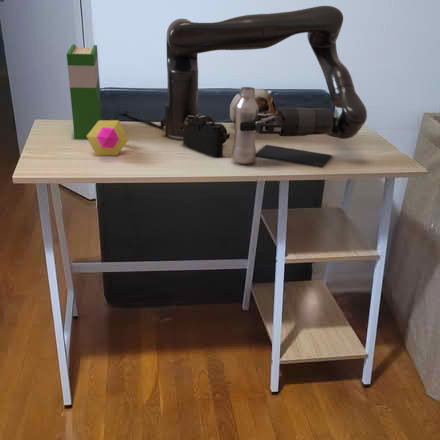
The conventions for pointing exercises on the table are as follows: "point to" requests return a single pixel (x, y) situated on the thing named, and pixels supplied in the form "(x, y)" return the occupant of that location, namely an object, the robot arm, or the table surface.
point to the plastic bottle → (245, 140)
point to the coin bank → (261, 99)
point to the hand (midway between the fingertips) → (237, 123)
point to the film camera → (204, 135)
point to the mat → (293, 155)
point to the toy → (107, 137)
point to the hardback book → (84, 89)
